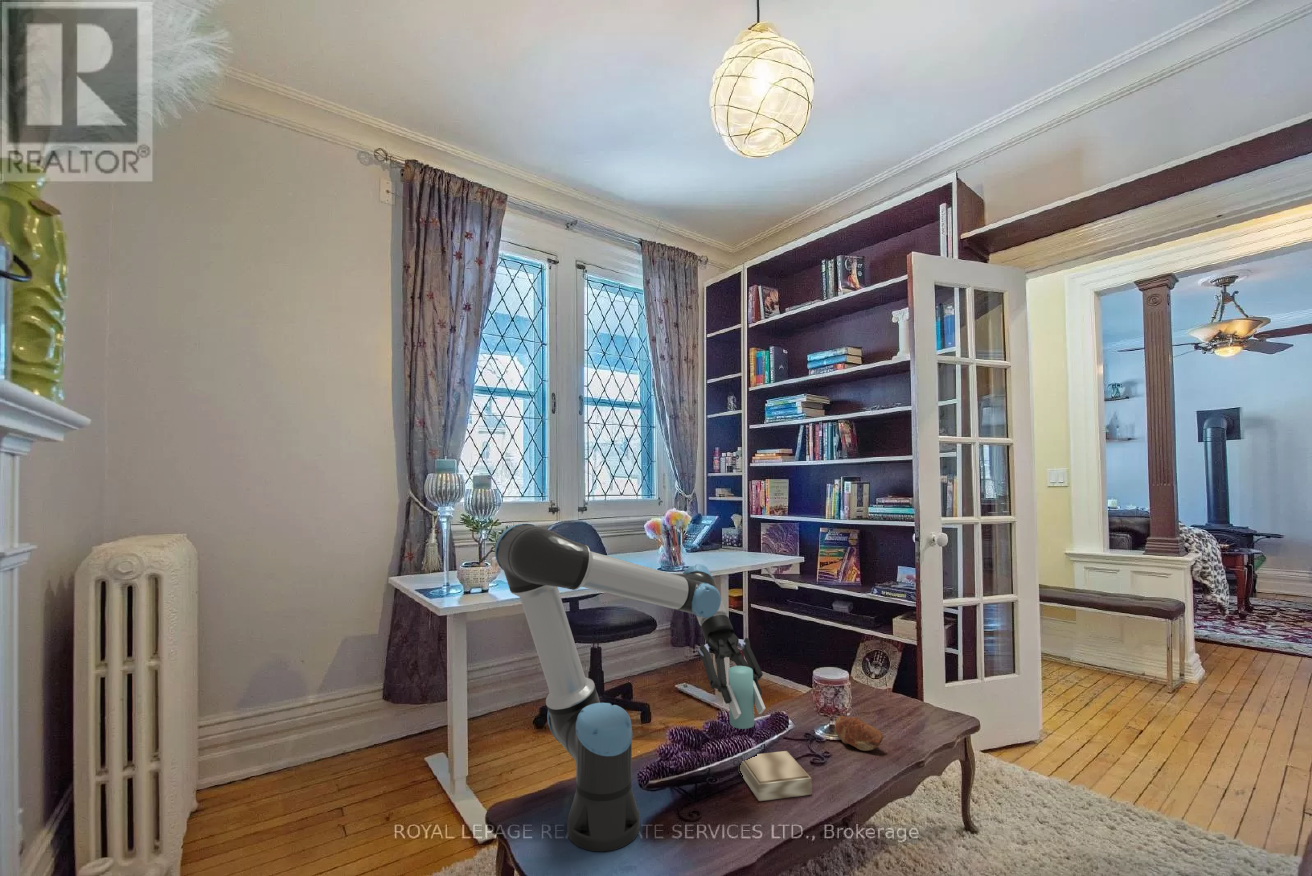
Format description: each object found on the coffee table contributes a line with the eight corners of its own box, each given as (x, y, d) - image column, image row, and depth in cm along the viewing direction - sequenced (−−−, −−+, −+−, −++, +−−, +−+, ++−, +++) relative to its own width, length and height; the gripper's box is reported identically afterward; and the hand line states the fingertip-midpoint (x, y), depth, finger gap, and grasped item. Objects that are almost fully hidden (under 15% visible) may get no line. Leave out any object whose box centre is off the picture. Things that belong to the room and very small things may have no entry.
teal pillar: (734, 730, 127) (733, 675, 128) (726, 719, 133) (725, 667, 133) (758, 727, 128) (756, 673, 129) (749, 716, 134) (747, 664, 134)
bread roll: (826, 722, 161) (846, 696, 159) (847, 731, 164) (868, 705, 162) (848, 760, 149) (870, 731, 147) (870, 769, 152) (893, 741, 150)
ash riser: (758, 801, 129) (758, 782, 129) (738, 771, 141) (738, 755, 142) (811, 794, 131) (811, 776, 131) (787, 766, 144) (787, 749, 144)
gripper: (741, 624, 149) (778, 713, 133) (676, 634, 142) (707, 729, 126) (751, 609, 144) (791, 699, 128) (684, 617, 137) (718, 714, 121)
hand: (750, 713), depth 127 cm, fingers closed on teal pillar, 5 cm apart
